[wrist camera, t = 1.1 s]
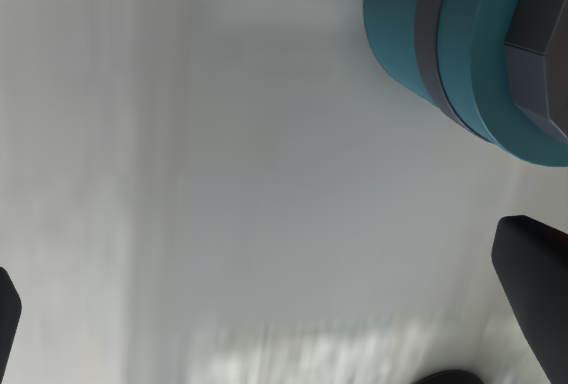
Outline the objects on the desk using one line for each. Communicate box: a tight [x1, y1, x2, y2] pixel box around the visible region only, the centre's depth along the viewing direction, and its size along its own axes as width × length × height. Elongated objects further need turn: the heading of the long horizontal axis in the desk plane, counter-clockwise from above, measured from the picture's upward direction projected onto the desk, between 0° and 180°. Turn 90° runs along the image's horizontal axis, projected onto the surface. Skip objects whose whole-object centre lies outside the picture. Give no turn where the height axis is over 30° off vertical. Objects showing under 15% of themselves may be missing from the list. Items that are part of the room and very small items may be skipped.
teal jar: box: [363, 0, 568, 167], centre depth 16 cm, size 9×9×8 cm
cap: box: [504, 0, 568, 145], centre depth 15 cm, size 6×6×10 cm
